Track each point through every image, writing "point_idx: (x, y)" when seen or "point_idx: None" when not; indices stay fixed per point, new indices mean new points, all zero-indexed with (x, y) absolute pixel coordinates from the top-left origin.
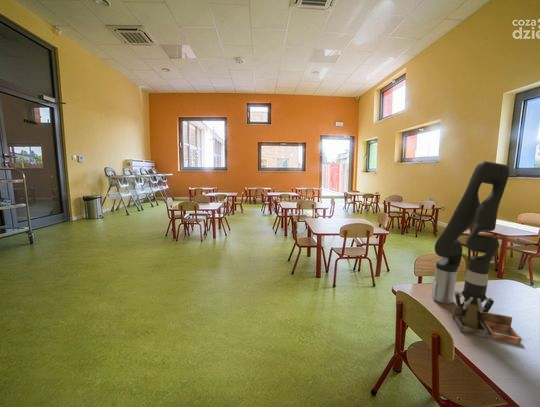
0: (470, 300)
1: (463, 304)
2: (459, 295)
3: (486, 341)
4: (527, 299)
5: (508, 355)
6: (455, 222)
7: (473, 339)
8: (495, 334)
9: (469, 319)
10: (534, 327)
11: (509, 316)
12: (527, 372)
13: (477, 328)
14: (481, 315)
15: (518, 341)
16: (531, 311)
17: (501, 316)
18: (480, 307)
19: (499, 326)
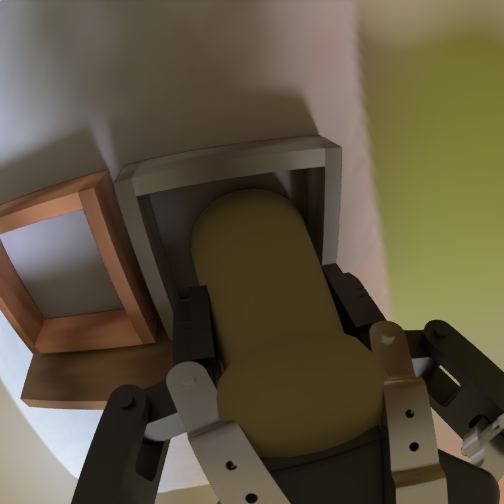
0: (405, 471)
1: None
2: (501, 441)
3: (142, 96)
4: (78, 469)
5: (39, 9)
6: None
7: (241, 65)
8: (69, 191)
9: (287, 242)
10: (6, 386)
11: (34, 406)
12: None
13: (192, 230)
14: (175, 338)
15: None
16: (51, 443)
17: (61, 397)
18: (213, 431)
19: (71, 332)
